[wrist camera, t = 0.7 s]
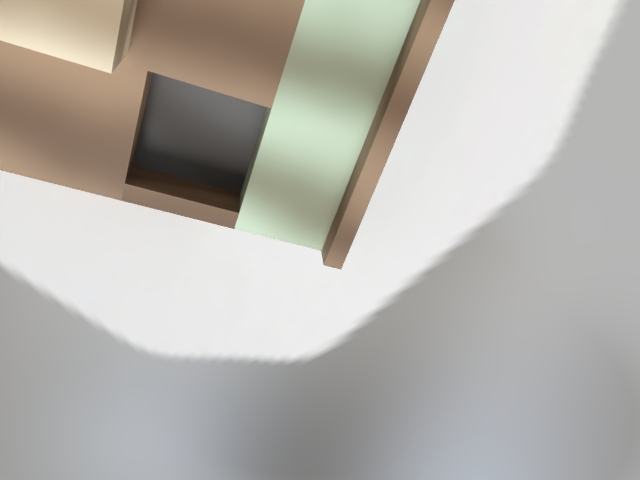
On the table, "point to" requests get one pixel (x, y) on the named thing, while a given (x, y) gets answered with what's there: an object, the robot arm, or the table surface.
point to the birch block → (71, 29)
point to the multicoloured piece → (230, 112)
